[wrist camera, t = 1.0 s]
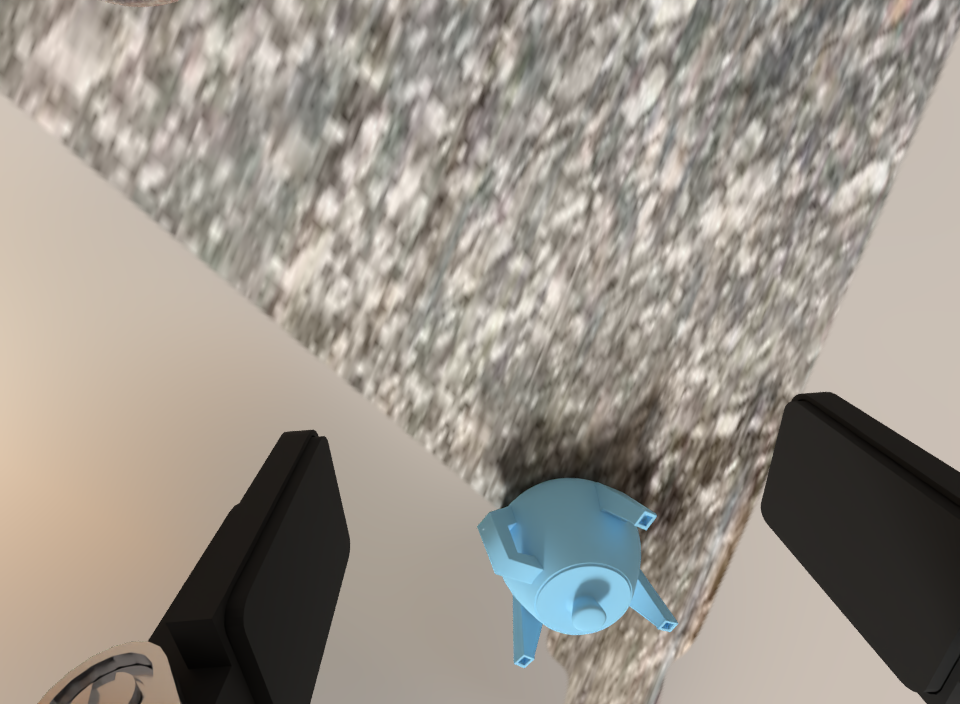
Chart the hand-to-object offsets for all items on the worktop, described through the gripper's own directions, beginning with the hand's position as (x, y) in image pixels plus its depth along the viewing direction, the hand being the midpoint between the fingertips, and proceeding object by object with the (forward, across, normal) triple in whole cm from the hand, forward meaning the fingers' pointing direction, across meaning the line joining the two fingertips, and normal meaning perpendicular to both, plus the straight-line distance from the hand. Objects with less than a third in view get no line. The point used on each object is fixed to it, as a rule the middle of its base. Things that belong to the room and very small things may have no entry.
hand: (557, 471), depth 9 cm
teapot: (+28, -7, +29) cm, 41 cm away
